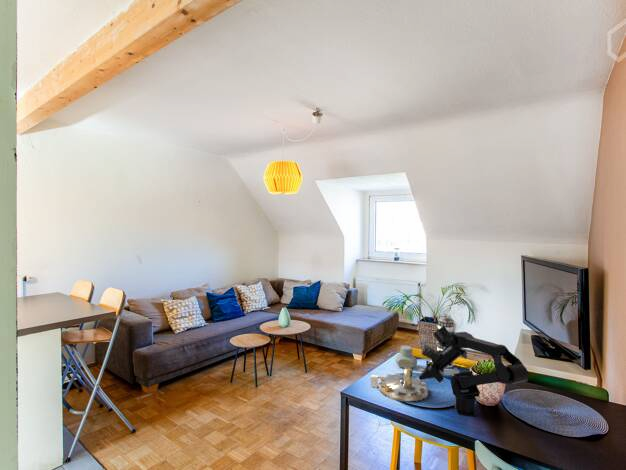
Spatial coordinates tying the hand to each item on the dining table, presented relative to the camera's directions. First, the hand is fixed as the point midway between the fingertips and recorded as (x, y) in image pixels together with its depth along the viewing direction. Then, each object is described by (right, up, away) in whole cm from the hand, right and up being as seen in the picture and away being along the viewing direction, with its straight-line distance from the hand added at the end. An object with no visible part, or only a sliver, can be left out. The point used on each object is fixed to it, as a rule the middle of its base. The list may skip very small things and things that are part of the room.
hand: (419, 378), depth 146 cm
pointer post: (-17, -8, +10) cm, 22 cm away
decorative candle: (+25, -8, +37) cm, 45 cm away
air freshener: (+3, -8, +33) cm, 34 cm away
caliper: (+16, -8, +23) cm, 29 cm away
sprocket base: (-5, -8, +7) cm, 12 cm away
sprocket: (-5, -6, +7) cm, 10 cm away
